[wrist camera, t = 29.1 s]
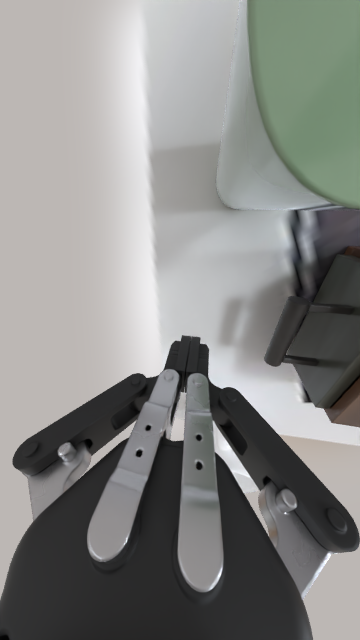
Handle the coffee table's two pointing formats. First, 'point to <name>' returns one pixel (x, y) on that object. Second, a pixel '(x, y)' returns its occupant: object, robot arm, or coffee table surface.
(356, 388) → the cabinet
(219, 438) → the mug
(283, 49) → the green cylinder
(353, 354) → the drawer
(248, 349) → the coffee table surface
